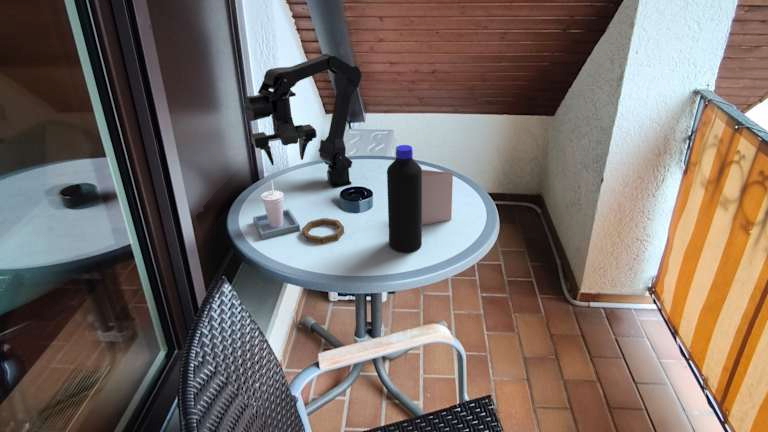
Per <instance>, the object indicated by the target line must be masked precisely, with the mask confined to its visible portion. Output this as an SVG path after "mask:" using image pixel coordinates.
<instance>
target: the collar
mask: <svg viewBox="0 0 768 432" xmlns="http://www.w3.org/2000/svg"><path fill="white" fill-rule="evenodd" d="M322 226H329V227H334V228H336V229H337V230H336V232H334V233H331V234H328V235H324V236H319V235H312V234H310V231H311V230H312V229H314V228H319V227H322ZM301 231H302V232H301V233H302V236H303V237H304V239H305V240H306V242H307V243H310V244H311V243H312V244H317V245H325V244H329V243H334V242H337V241H339V240H340V239H341V237H342V236H343V235H344V234H345V227H344V225H343V224H342V223H341V221H340V220H338V219H334V218H333V219H332V218H327V217H325V218H318V219H313V220H310V221H308V222H307V223H306V224H305V225H304V226H303V227H302V228H301Z"/></svg>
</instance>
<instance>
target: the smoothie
mask: <svg viewBox="0 0 768 432" xmlns="http://www.w3.org/2000/svg"><path fill="white" fill-rule="evenodd" d="M269 182H270V187H271V190H268V191H265V192H263V193H262V194H261V196H260V200H261V202H262V204H263V207H264V209H265V210H264V211H265V214H267V217H268V220H269V223H270V226H271V227H272V228H279V227H281V226H282V225H283V210H284V199H285V198H284V197H285V195H284V193H283V192H282V191H281V190H276V189H275V190H274V184H273V182H274V181H273V179H270V181H269Z"/></svg>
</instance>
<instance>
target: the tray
mask: <svg viewBox="0 0 768 432" xmlns="http://www.w3.org/2000/svg"><path fill="white" fill-rule="evenodd" d="M291 211H292V210H290V209H289V208H286V209H283V225H282V226H281V227H279V228H272V227H271V226H270V223H269V220H268V217H267V213H265V214H261V215H257V216H256V215H255V216H253V217H252V222H253V225H254V227H255V229H256V231H257V232H258V235H259V236H260V238H261V241H264V240H268V239H272V238H277V237H281V236H285V235H289V234H293V233H298V232H301V227H300V224H299V222H298V220H297V219H296V217H295V216H294V215H293V213H292V212H291Z"/></svg>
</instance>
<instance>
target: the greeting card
mask: <svg viewBox="0 0 768 432" xmlns="http://www.w3.org/2000/svg"><path fill="white" fill-rule="evenodd" d="M453 175H454V172H449V171H437V170H428V169H422V226H424V225H430V224H435V223H441V222H447V221H451V220H452V212H453V209H452V208H453V185H454V184H453V177H454V176H453Z"/></svg>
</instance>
